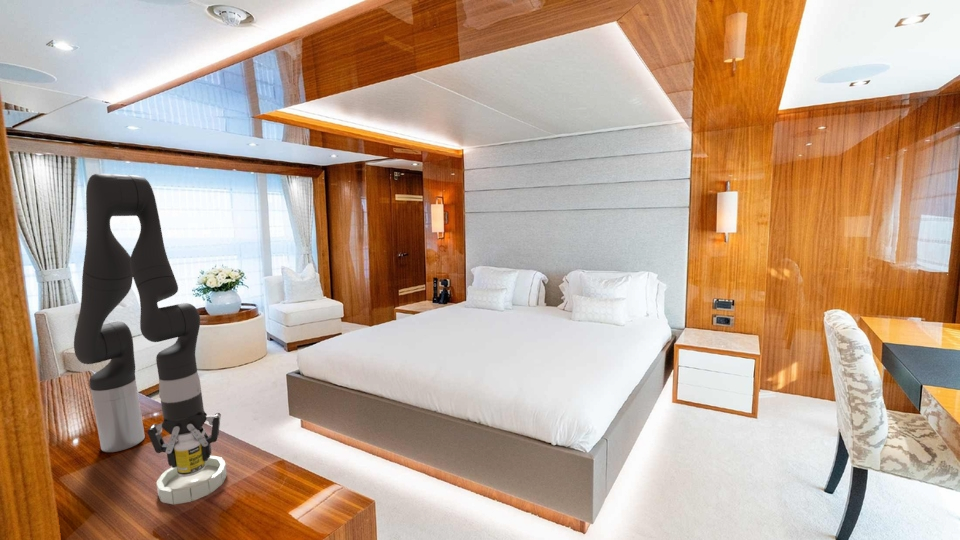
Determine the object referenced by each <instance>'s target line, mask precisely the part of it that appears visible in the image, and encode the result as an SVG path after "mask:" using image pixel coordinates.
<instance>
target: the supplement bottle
mask: <svg viewBox="0 0 960 540" xmlns="http://www.w3.org/2000/svg"><path fill="white" fill-rule="evenodd" d="M174 450H175V457H176V465H177V472H178V475H179V476H182V477H187V476H192V475H195V474H197V473H199V472H201V471H202V470H203V469H204V468H205V461H203V454H202V444H201V443H200V442H199V440H197V439H196V438H195V437H194V435H193V434H192V433H185V434H180V435H178V436H177V441H176V443H175V445H174Z"/></svg>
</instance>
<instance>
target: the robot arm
mask: <svg viewBox="0 0 960 540" xmlns="http://www.w3.org/2000/svg"><path fill="white" fill-rule="evenodd" d="M85 189H86V192H85V195H86V196H85V202H86V203H85V206H86V210H85V211H86V239H85V240H86V241H85V250H84V251H85V252H84V259H83V267H82V278H81V280H82V281H81V282H82V283H81V298H80V307H79V308H80V309H79V314H78V319H77V323H76V327H75V331H74V336H73V337H74V338H73V339H74V340H73V351H74V354H75V357H76V359H77V360H78V361H79V362H80V363H82V364H84V365H93V364H98V363H102V362H105V361H109V360H110V361H109V362H108V363H107V365H105V366H104V367H103V368H101V369H100V370H98V371H97V372H95V373H93V375H91V376H90V378H89V380H88V382H89V388H90V394H91V399H92V400H91V401H92V404H93V410H94V411H93V412H94V415H95V416H94V417H95V421H96V428H97V433H98V439H99V444H100V445H99V446H100V449H101V451H102V452H104V453H115V452H121V451H124V450H127V449H128V450H129V449H130V448H133V447H135V446H137V445H138V444H140V443H141V442H143V440H145V436H146V435H145V429H144V424H143V416H142V409H141V404H140V398H139V390H138V385H137V380H136V361H135V349H134V340H133V333H132V331H131V330H130V327H129V326H128V324H126V323H125V322H123V321H113V322H108V323H105V321H106V319H107V317H109V315H110V314H111V313H112V311H114V309H116V307H118V305H119V304H120V303H121V302H122V301H123V300H124V299H125V298H126V297H127V295H128V294H129V292H130V290H131V288H132V285H133V282H134V284H135V286H136V289H137V293H138V296H139V303H140V304H139V305H140V317H139V318H140V319H139V321H140V322H139V323H140V324H139V325H140V326H139V328H140V332H141V334H142V336H143V337H144V338H145V339H146V340H147V341H149V342H152V343H161V342H164V341H168V340H172V339H175V338H177V339H176V341H175V342H174V343H172V345H170V346H168V347H166V348H164V349H163V350H161V351H159V352H158V353H157V354H156V357H155V361H156V367H157V373H158V390H159V391H158V392H159V394H158V395H159V396H158V397H159V398H160V404H161V410H162V419H163V421H162V422H161V423H159V424H155V423H154V424H151V425H150V427H149V428H148V431H147V436H148V437H149V438H148V439H149V440H150V442H151V445H152V447H153V448H154V451H155V452H156V454H160V453H165V454H166V455H167V463H168V466H171V467H172V468H175V467H177V465H176V457H175V450H174V445H175V443H176V442H177V441H178V440H177V436H178V435H180V434H185V433H192V434H193V435H194V437H195V438H196V439H197V440H199V442H200V443H201V444H202V454H203V461H207V460H208V458H210V455H211V454H212V445H211V444H212V443H216V442H217V441H218V438H219V435H220V426H221V418H222V417H221V416H222V414H221V413H220V412H216V413H214V414H207V413H206V412H205V409H204V401H203V394H202V385H201V380H200V376H199V372H198V367H197V358H196V348H197V342H198V336H199V331H200V326H201V316H200V312H199V310H198V309H197V308H196V307H195V306H194V305H193V304H191V303H188V302H186V303H184V302H183V303H177V304H173V305H168V306H164V307H163V306H162V307H159V306H158V302H162V301H163V300H167V299H168V298H171V297H173V296H175V295H176V293H178V291H179V285H178V282H177V280H176V277H175V275H174V271H173V269H172V267H171V264H170V261H169V258H168V255H167V252H166V248H165V244H164V238H163V233H162V227H161V226H162V225H161V221H160V216H159V211H158V206H157V201H156V197H155V193H154V190H153V188H152V185H151V183H150V182H149V180H148V179H146V178H145V177H143V176H141V175H136V174H134V175H133V174H115V173H94V174H91V176H90V177H89V178H88V181H87V184H86V188H85ZM132 216H133V217H137V218H138V220H139V224H140V232H139V236H138V237H137V238H138V239H137V241H136V243H135V246H134V248H133V249H132V252H131V255H130V254H129V253H128V251H127V250H126V249H125V247H124V246H123V245H122V244H121V242H119V241H118V239H117V238H116V236H115V234H114V233H113V232H112V228H111V219H112V217H132ZM133 280H134V281H133ZM206 422H208V424H209V425H210V426H211V433H210V435H209V434H208V432H207V430H206V429H205V427H204V425H205V423H206ZM163 430H164V431H165V432H166V433H168V434H170V437H169V440H168V443H165V441H164V438H163V436H162V434H161V433H162V432H163Z"/></svg>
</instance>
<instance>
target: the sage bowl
mask: <svg viewBox="0 0 960 540" xmlns="http://www.w3.org/2000/svg"><path fill="white" fill-rule="evenodd" d="M227 471H228V470H227V463H226V462H225V459H224V458H223V457H222V456H217V455H210V458H208V460H207V461H205V468H204V469H203V470H202V471H201V472H199V473H197V474H195V475H192V476H187V477H182V476H179V475H178V472H177V467H175V468H172V466H171V467H169V468H168V469H166V470H165V471H164V472H163V471H162V473H161V475H160V476H159V477H158V479H157V480H156V482H155V485H156V489H157V491H156V492H157V495H158V498H159V500H160V502H161V503H164V504H170V505H179V504H185V503H191V502H194V501H196V500H199V499H201V498H204V497H205V496H209V495H210V494H212V493H213V492H214V491H215V490H217V489H218V488H219V487H221V486H222V485H223V484H224V482H225V480H226V479H227V476H228V472H227Z"/></svg>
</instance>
